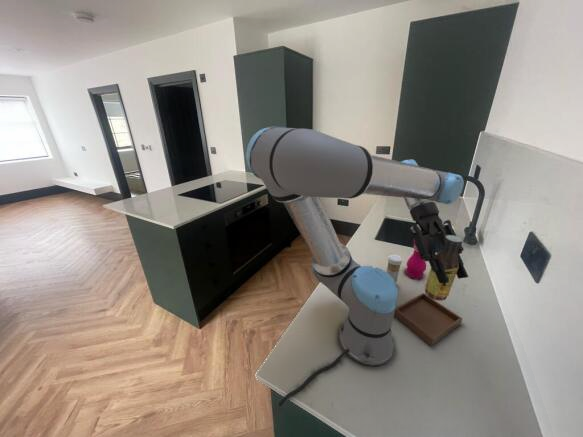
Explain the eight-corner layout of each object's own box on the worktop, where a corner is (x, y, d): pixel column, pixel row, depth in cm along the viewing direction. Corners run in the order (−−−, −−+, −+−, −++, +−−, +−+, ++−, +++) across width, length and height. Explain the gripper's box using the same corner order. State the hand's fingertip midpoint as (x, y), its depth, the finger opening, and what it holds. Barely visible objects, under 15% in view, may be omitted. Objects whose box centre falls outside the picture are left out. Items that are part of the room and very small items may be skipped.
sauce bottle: (438, 305, 67) (458, 247, 59) (419, 291, 72) (434, 236, 64) (452, 297, 70) (472, 240, 62) (432, 284, 75) (448, 231, 67)
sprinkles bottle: (390, 281, 93) (395, 253, 88) (398, 288, 89) (405, 259, 84) (380, 283, 92) (386, 255, 86) (389, 291, 88) (395, 262, 82)
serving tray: (431, 346, 67) (433, 339, 66) (393, 314, 78) (394, 308, 76) (460, 324, 74) (462, 318, 72) (421, 298, 84) (423, 292, 83)
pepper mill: (426, 280, 93) (438, 237, 85) (407, 278, 94) (417, 235, 86) (420, 269, 100) (431, 228, 91) (402, 268, 101) (412, 227, 93)
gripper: (403, 204, 66) (437, 285, 59) (455, 197, 71) (492, 271, 63) (388, 214, 73) (416, 288, 65) (436, 207, 78) (468, 275, 70)
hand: (453, 280), depth 64 cm, fingers closed on sauce bottle, 6 cm apart
